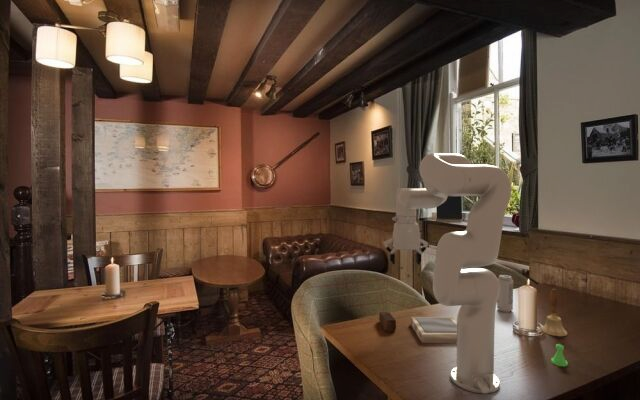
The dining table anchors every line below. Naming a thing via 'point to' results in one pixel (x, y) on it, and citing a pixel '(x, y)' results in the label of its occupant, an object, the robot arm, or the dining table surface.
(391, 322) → the brick
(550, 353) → the dining table surface
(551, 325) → the hand bell
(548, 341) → the dining table surface
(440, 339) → the plinth
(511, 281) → the energy drink can
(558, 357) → the game piece
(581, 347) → the dining table surface
